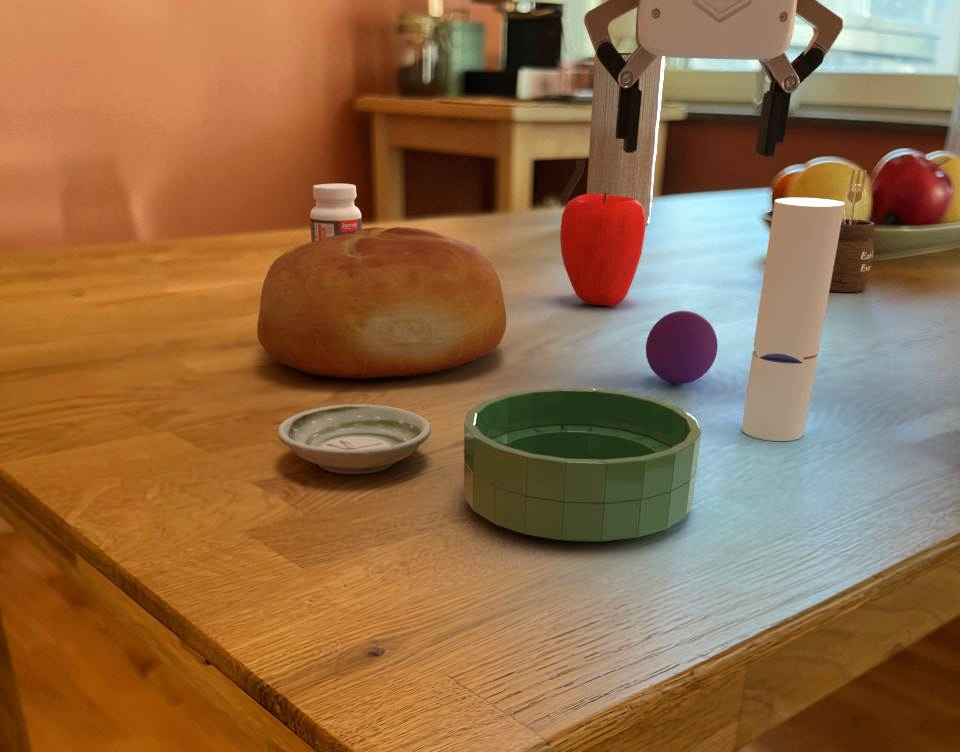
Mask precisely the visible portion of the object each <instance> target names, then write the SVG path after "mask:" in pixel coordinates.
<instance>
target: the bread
mask: <svg viewBox="0 0 960 752" xmlns="http://www.w3.org/2000/svg"><path fill="white" fill-rule="evenodd" d="M256 326H257V327H256V331H257V339H258V341H259V343H260V345H261V346H262V348H263V349H264V351H266V352H267V353H268V354H269V355H270V356H271V357H272V358H273V359H274V360H276V362H279V363H281V364H283V365H286V366H288V367H290V368H293V369H297V370H299V371H302V372H304V373H308V374H311V375H315V376H321V377H322V376H323V377H331V378H346V379H370V378H394V377H395V378H397V377H408V376H420V375H426V374H431V373H436V372H441V371H445V370H448V369H451V368H455V367H458V366H461V365H464V364H466V363H469V362H472V361H474V360H476V359H479V358H480V357H483V356H485V355H487V354H488V353H491V352H492V351H493V350H495V349H496V348H497V347H498V346H499V344H500V343H501V341H502V339H503V338H504V335H505V333H506V327H507V312H506V305H505V300H504V292H503V288H502V285H501V281H500V278H499V276H498V273H497V271H496V268H495V267H494V265H493V263H492V262H491V260H490V259H489V257H488V256H487V255H486V254H485V253H484V252H483V251H482V250H481V249H480V248H478V247H477V246H475V245H473V244H470V243H468V242H465V241H463V240H460V239H456V238H454V237H450V236H447V235H444V234H441V233H438V232H436V231H434V230H430V229H424V228H419V227H417V228H416V227H410V226H409V227H407V226H406V227H405V226H404V227H403V226H402V227H401V226H396V227H395V226H394V227H389V228H385V227H378V226H376V227H375V226H373V227H366V228H365V227H364V228H362V230H359V231H357V232H355V233H353V234H352V233H350V234H341V235H336V236H331V237H328V238H325V239H321V240H318V241H315V242H312V241H311V242H308V243H305V244H302V245H298V246H295V247H294V248H291V249H290V250H287V251H285V252H284V253H283V254H281V255H279V256H278V257H277V258H275V260H274V261H273V262H272V263H271V264H270V267H269V269H268V270H267V273H266V275H265V278H264V280H263V283H262V289H261V294H260V302H259V313H258V316H257V323H256Z"/></svg>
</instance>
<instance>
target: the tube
mask: <svg viewBox="0 0 960 752" xmlns="http://www.w3.org/2000/svg"><path fill="white" fill-rule="evenodd" d="M845 206H846V205H845V202H844V201H843V202H842V200H841V201H840V200H836V199H828V198H818V197H781V198H780V197H779V198H776V199H774V203H773V208H772V217H771V223H770V229H769V237H768V242H767V243H768V244H767V251H766V258H765V265H764V272H763V279H762V285H761V286H762V287H761V292H760V299H759V306H758V312H757V318H756V327H755V332H754V338H753V339H754V340H753V348H754V350H753V351H752V354H751V360H750V367H749V374H748V380H747V387H746V394H745V401H744V409H743V414H742V422H741V431H742V432H743V433H744V434H745V435H747V436H749V437H752V438H755V439H758V440H763V441H771V442H790V441H796V440H798V439H801V438H803V436H804V434H805V429H806V423H807V419H808V412H809V406H810V402H811V401H810V400H811V396H812V390H813V384H814V378H815V373H816V368H817V367H816V366H817V361H818V355H819V351H820V350H819V349H820V344H821V339H822V334H823V328H824V322H825V317H826V311H827V306H828V300H829V296H830V295H829V294H830V291H829V290H830V284H831V278H832V273H833V267H834V261H835V256H836V250H837V244H838V239H839V233H840V227H841V222H842V219H843V217H844V207H845Z"/></svg>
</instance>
